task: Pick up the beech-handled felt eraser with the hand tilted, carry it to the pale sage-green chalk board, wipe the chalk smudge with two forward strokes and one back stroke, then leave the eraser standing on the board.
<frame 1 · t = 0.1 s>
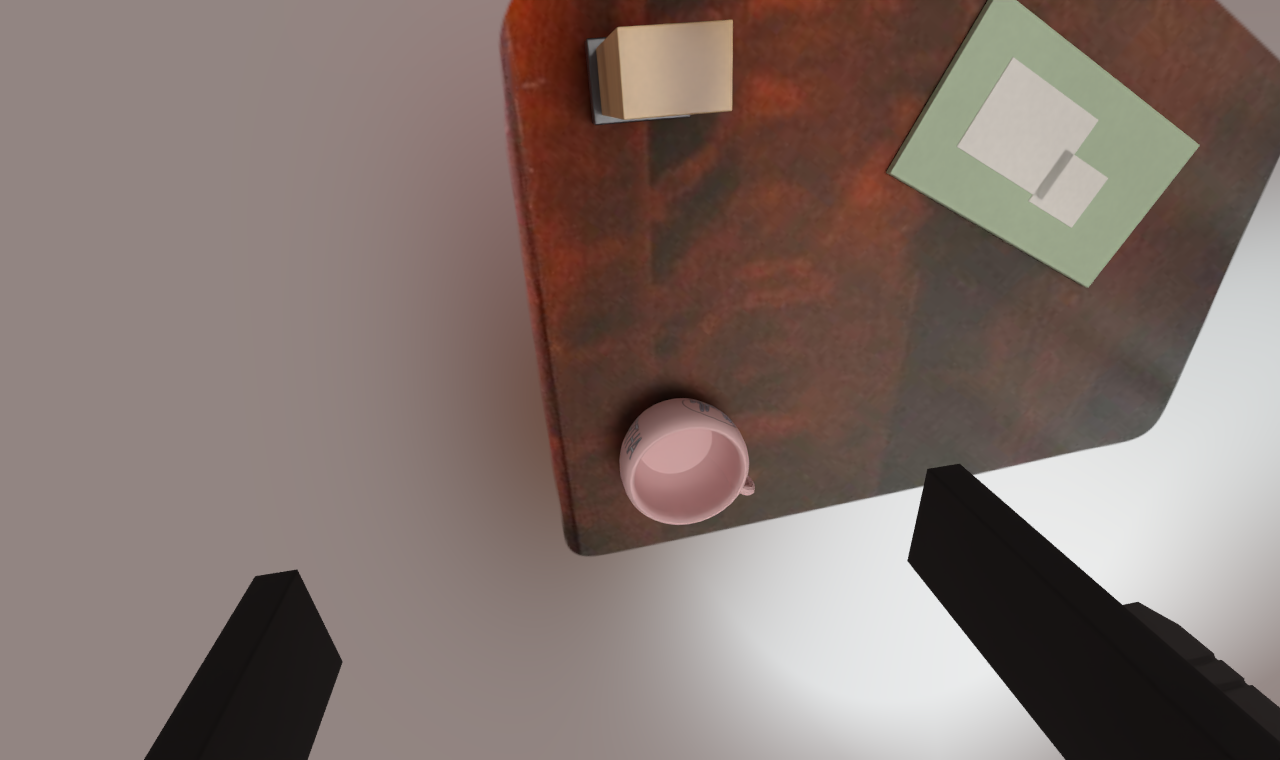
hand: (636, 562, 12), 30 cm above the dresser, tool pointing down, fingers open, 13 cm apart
mug: (682, 438, 47), on the dresser
chalk board: (1044, 158, 40), on the dresser
eraser: (636, 80, 34), on the dresser
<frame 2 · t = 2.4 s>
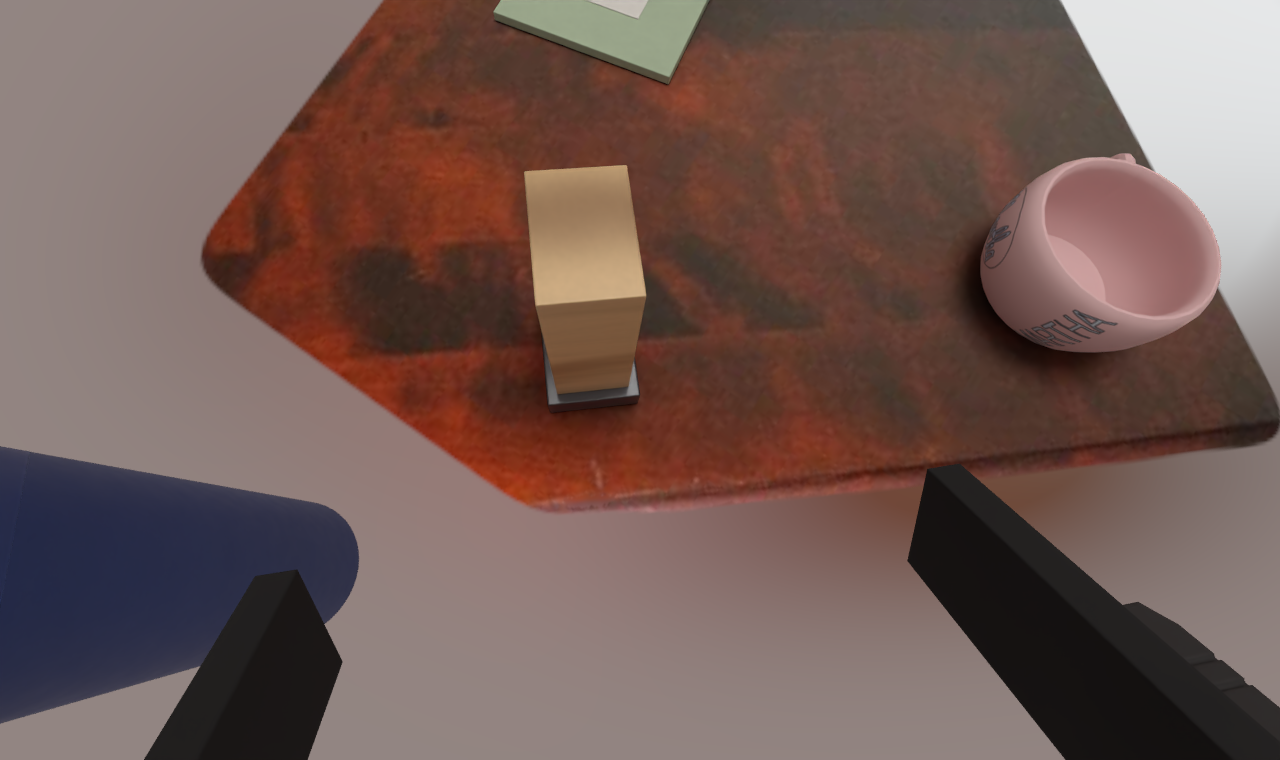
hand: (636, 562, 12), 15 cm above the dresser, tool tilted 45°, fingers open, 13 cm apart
mug: (1037, 278, 33), on the dresser
eraser: (588, 353, 29), on the dresser
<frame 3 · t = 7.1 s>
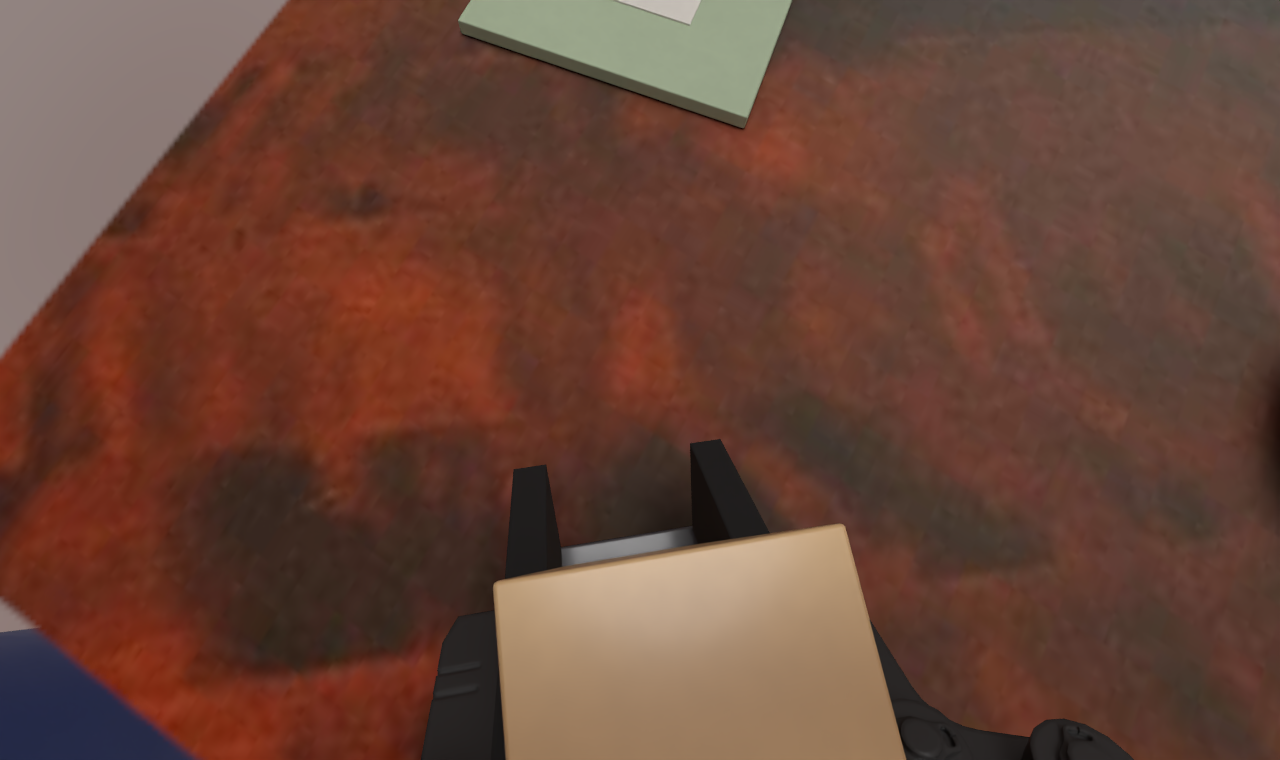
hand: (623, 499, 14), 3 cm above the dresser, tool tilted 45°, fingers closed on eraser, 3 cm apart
eraser: (639, 647, 15), on the dresser, touching gripper
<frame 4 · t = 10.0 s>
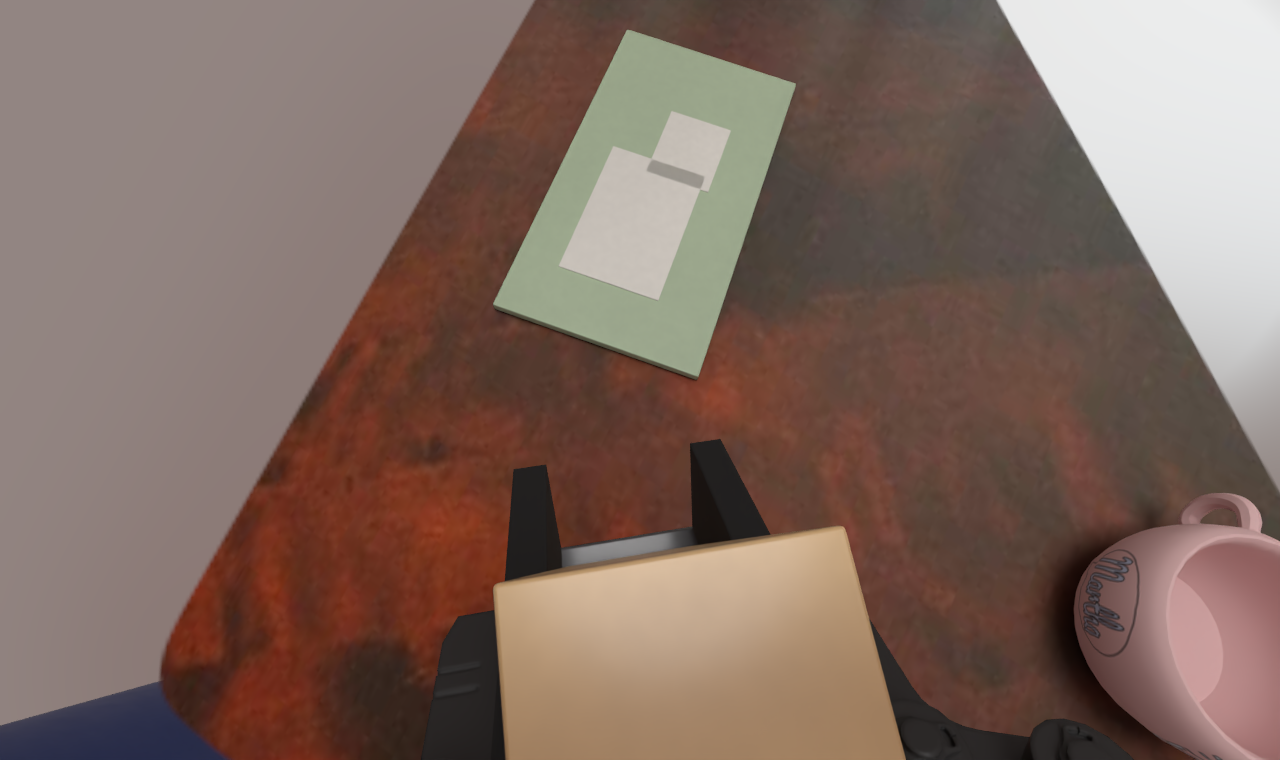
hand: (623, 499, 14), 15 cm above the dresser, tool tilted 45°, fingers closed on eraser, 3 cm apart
mug: (1136, 610, 28), on the dresser
chalk board: (657, 189, 34), on the dresser
eraser: (640, 648, 15), point 11 cm above the dresser, touching gripper
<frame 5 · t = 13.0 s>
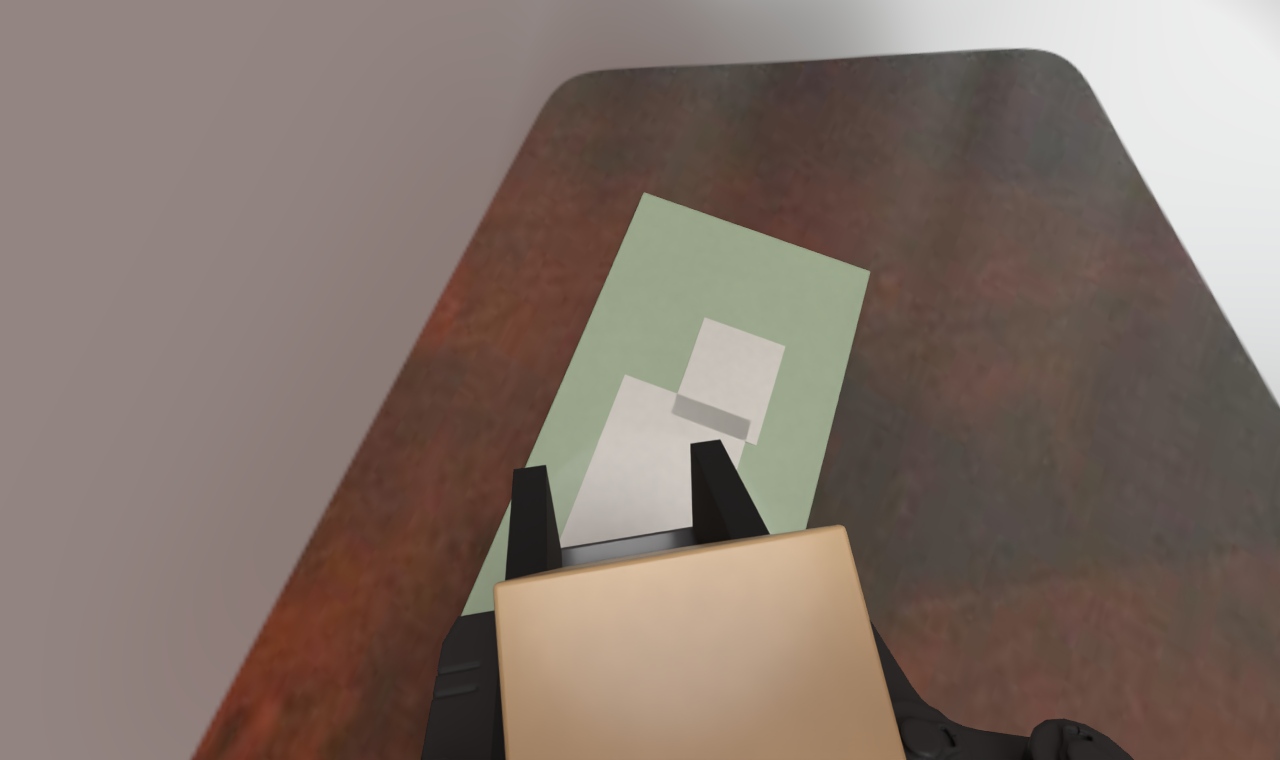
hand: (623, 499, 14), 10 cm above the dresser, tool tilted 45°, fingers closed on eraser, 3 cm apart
chalk board: (685, 435, 24), on the dresser
eraser: (640, 647, 15), point 7 cm above the dresser, touching gripper
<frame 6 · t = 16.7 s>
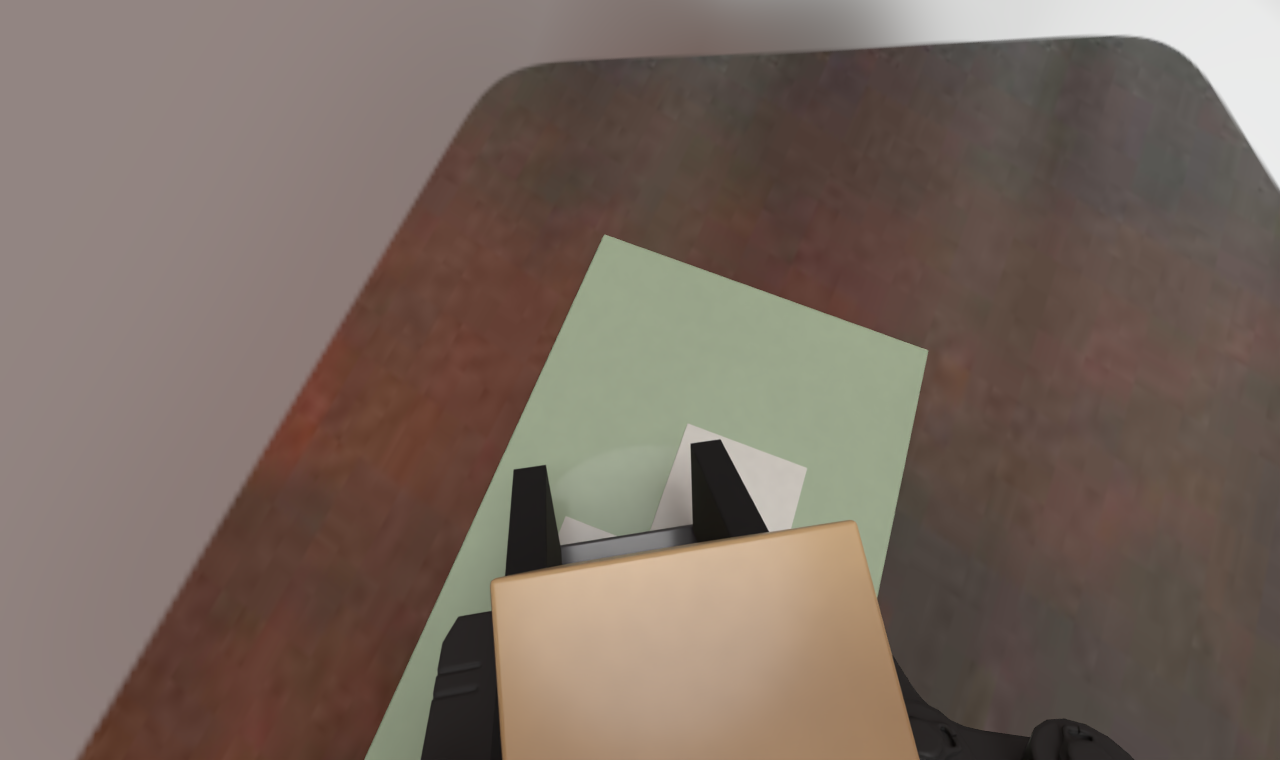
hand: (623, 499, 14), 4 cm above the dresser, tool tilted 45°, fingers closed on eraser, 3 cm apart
chalk board: (657, 608, 16), on the dresser
eraser: (640, 646, 15), point 1 cm above the dresser, touching gripper
when the fingers open (3 cm above the dresser, at t = 19.3 s): eraser stays where it is, resting on chalk board.
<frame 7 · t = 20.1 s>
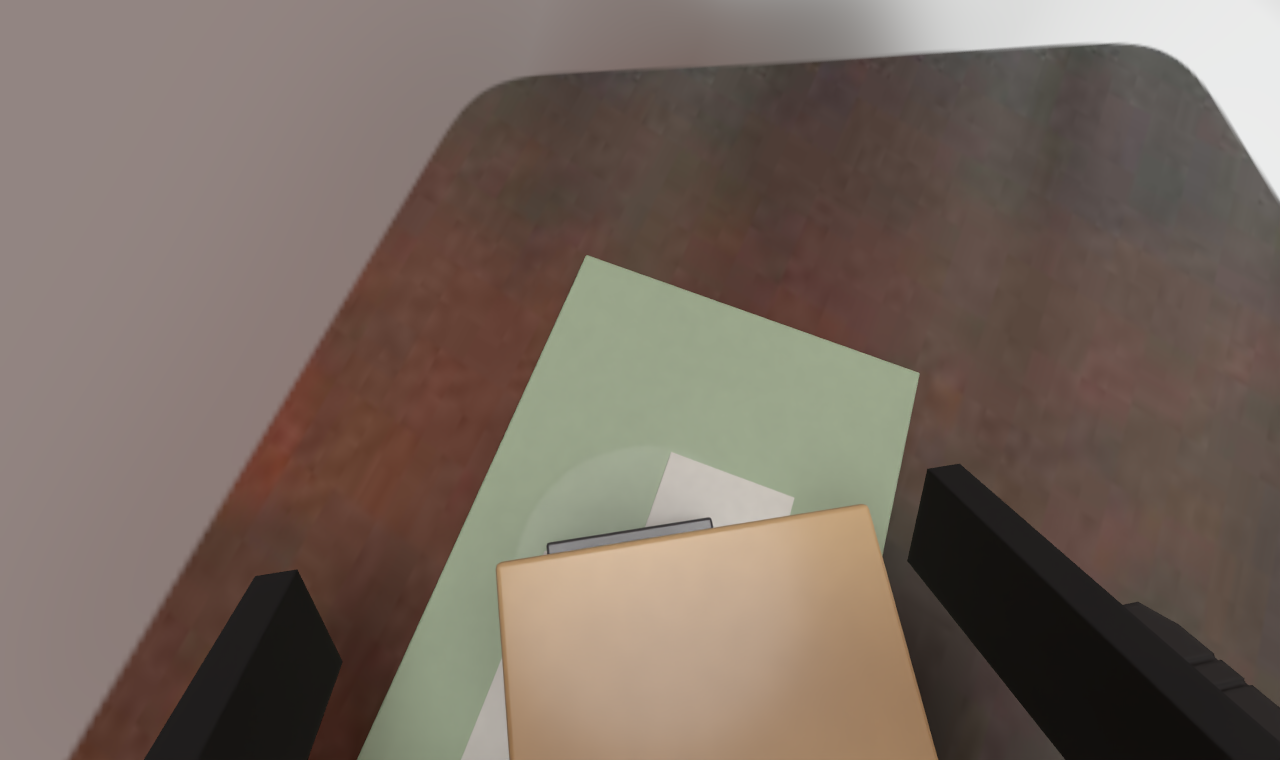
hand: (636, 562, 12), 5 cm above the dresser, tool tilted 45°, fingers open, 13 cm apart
chalk board: (639, 645, 16), on the dresser
eraser: (643, 642, 15), point 1 cm above the dresser, touching chalk board
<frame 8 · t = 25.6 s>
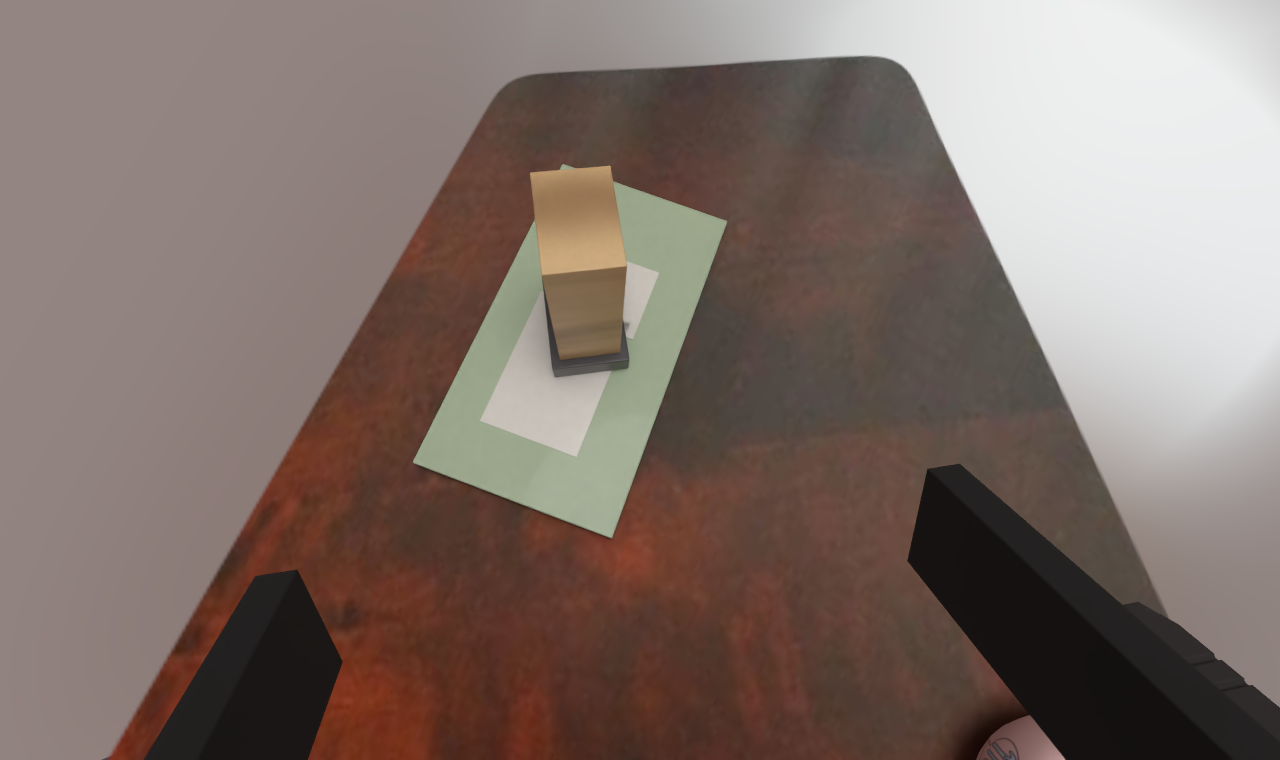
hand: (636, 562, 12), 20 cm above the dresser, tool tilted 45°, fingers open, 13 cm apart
chalk board: (584, 334, 34), on the dresser
eraser: (585, 327, 34), point 1 cm above the dresser, touching chalk board
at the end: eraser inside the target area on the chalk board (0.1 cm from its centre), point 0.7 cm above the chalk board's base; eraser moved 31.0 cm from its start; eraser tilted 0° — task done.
